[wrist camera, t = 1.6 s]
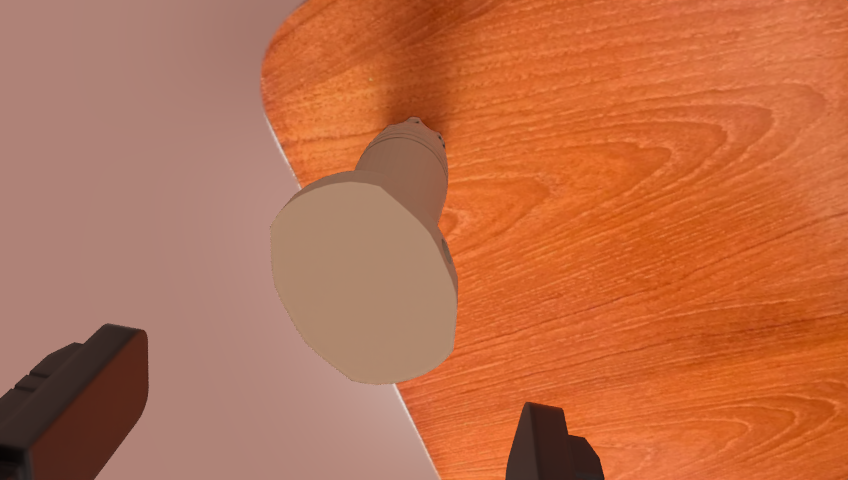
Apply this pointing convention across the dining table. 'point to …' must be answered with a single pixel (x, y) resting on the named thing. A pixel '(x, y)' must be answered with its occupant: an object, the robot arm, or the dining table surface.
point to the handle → (372, 260)
